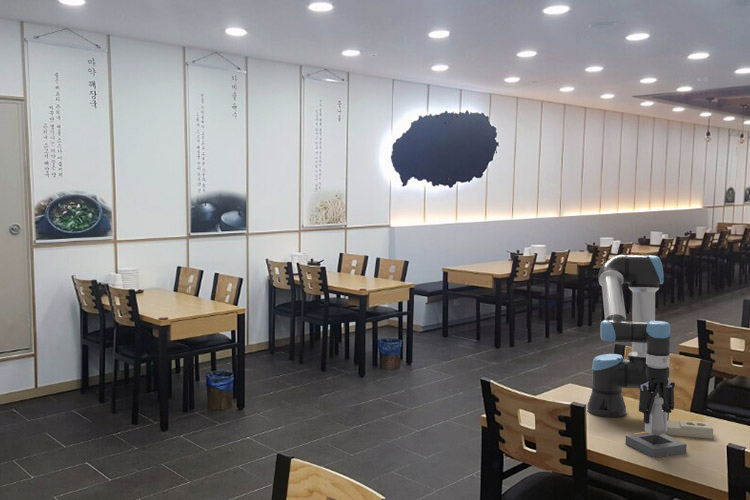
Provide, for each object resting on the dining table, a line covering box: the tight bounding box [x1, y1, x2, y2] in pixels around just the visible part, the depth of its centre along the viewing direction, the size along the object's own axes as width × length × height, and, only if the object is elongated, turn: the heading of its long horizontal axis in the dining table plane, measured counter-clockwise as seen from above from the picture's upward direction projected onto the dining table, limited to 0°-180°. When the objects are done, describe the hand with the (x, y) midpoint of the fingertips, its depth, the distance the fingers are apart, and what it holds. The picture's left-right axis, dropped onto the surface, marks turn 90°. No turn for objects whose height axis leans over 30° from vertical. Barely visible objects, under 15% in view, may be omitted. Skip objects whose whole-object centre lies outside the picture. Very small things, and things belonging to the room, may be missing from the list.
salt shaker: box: [651, 395, 665, 435], centre depth 232 cm, size 6×6×13 cm
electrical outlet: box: [663, 419, 714, 439], centre depth 248 cm, size 7×4×18 cm
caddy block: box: [625, 431, 688, 459], centre depth 233 cm, size 14×14×3 cm
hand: (655, 430), depth 233 cm, fingers closed on salt shaker, 6 cm apart
